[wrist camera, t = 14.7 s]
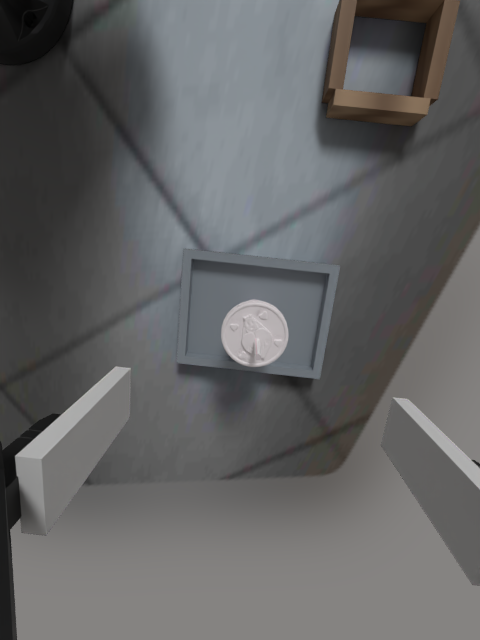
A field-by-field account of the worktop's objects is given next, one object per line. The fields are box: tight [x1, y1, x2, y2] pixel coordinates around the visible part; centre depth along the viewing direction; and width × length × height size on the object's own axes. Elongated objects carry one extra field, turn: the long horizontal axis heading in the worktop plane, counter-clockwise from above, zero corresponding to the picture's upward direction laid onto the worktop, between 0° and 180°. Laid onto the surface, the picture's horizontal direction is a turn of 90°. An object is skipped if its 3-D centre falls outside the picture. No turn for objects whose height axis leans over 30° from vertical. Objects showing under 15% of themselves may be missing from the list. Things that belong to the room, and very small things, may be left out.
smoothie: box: [221, 299, 288, 367], centre depth 31 cm, size 6×6×14 cm
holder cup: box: [322, 0, 460, 126], centre depth 30 cm, size 11×11×3 cm
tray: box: [177, 249, 340, 379], centre depth 37 cm, size 18×14×2 cm
